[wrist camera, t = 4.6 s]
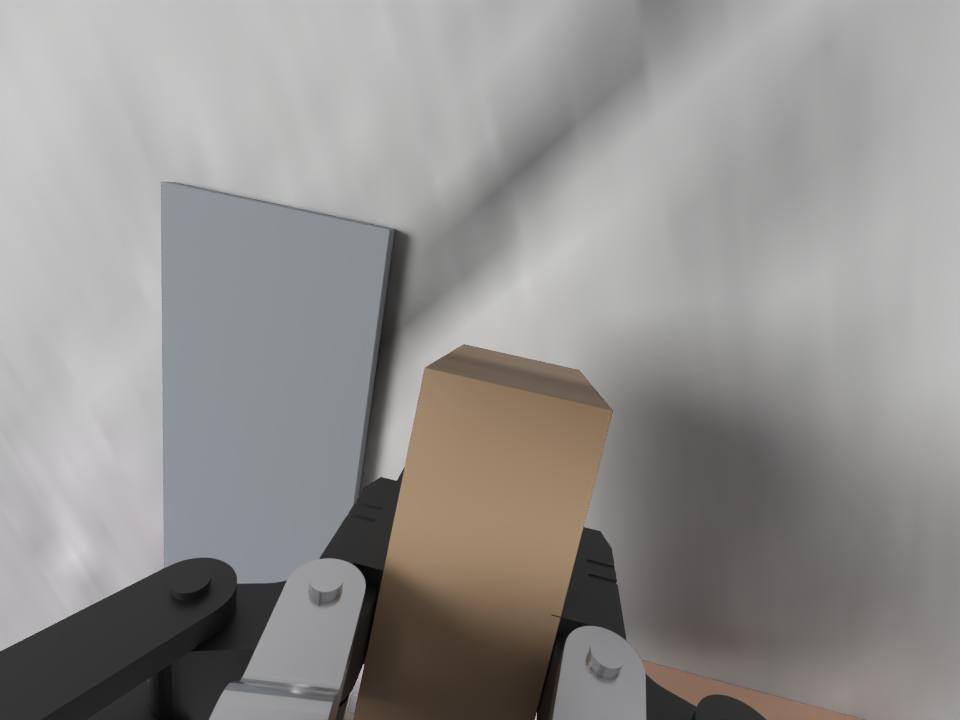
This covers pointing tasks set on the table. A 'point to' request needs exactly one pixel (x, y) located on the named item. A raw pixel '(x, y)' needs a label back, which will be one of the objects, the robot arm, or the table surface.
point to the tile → (736, 695)
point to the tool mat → (264, 376)
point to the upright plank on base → (482, 539)
